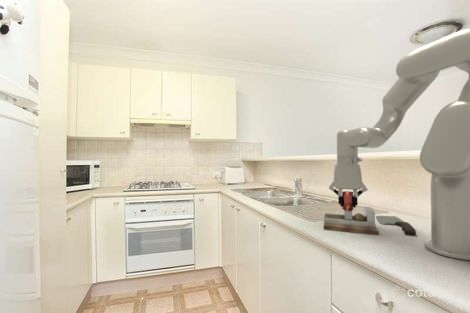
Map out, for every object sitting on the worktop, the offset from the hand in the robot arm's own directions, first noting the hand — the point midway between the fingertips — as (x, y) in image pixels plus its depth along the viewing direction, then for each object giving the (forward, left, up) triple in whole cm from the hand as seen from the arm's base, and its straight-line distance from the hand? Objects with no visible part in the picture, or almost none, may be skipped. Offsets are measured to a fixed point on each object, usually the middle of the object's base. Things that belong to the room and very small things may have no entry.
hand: (347, 206), depth 92 cm
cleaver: (-18, -10, -9) cm, 22 cm away
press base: (0, 0, -8) cm, 8 cm away
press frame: (0, 0, -7) cm, 7 cm away
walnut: (-4, 0, -5) cm, 6 cm away
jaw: (0, 0, -6) cm, 6 cm away
